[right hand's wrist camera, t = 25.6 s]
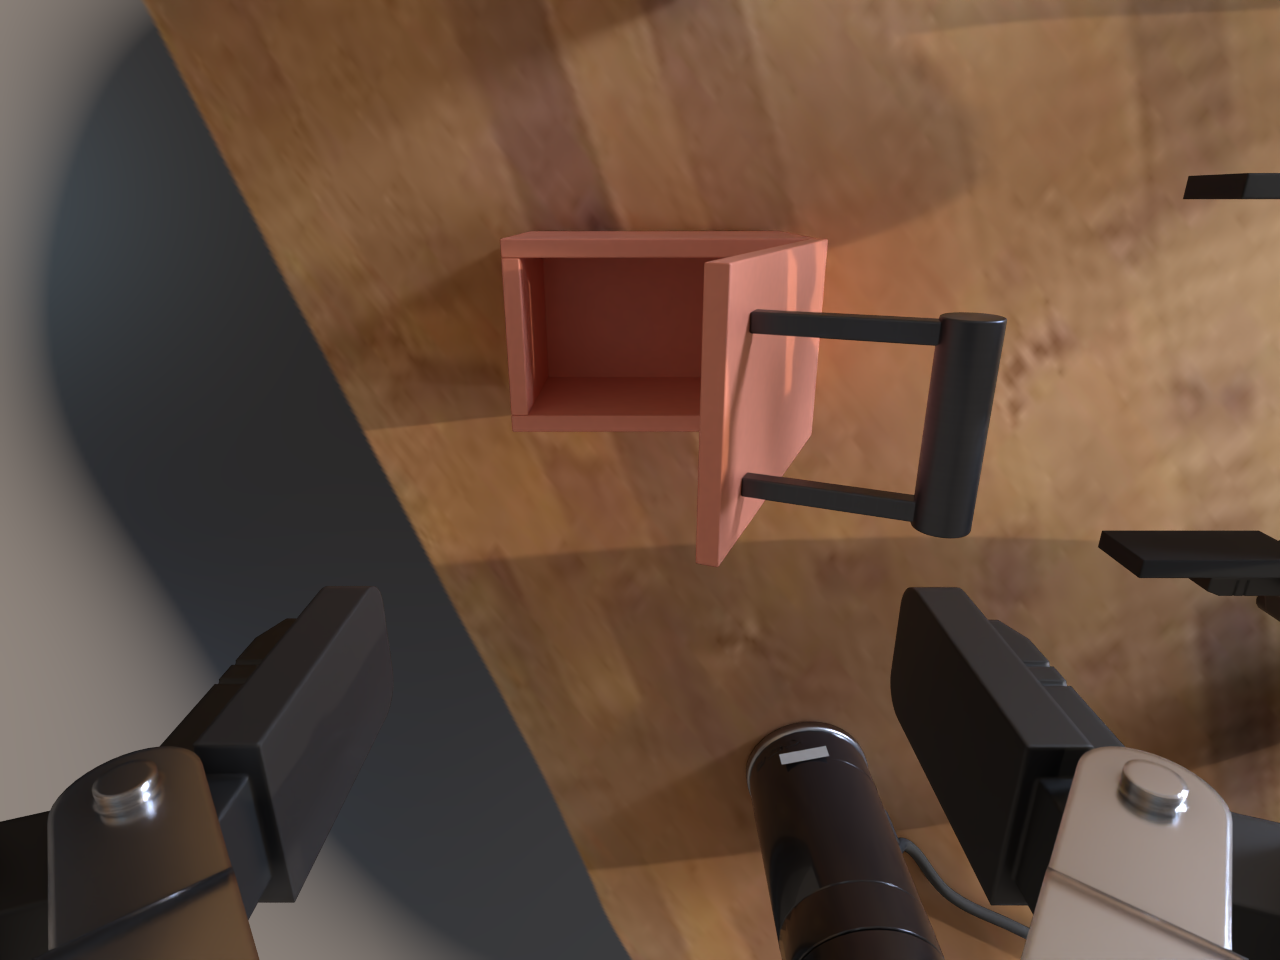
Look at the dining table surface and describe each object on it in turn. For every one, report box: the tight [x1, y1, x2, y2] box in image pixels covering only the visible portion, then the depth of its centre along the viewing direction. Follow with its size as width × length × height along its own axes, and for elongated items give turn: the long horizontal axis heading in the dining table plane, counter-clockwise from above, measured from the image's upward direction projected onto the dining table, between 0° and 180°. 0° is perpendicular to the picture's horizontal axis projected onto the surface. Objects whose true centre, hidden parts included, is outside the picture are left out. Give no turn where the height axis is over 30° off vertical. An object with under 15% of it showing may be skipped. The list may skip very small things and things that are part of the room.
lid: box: [696, 239, 1007, 567], centre depth 28 cm, size 16×10×8 cm
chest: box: [500, 231, 816, 432], centre depth 41 cm, size 15×10×10 cm, turn 90°
